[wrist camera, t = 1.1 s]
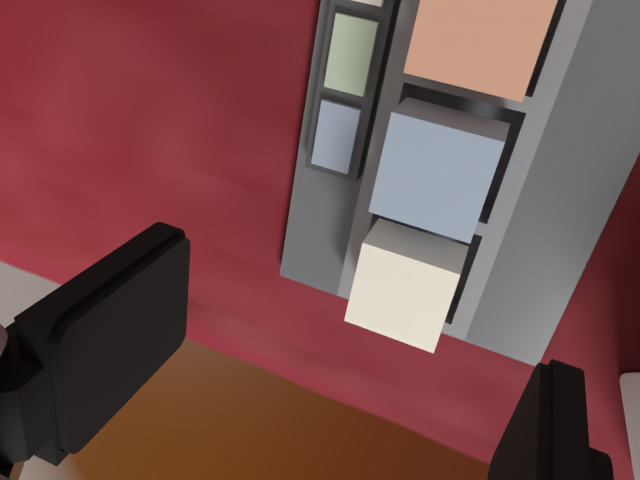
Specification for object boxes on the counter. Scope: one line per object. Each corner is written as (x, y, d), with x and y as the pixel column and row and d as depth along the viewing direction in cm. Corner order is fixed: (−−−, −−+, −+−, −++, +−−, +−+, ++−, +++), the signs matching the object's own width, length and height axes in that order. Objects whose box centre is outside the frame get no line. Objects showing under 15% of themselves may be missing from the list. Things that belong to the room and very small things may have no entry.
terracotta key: (567, -35, 18) (569, -34, 16) (525, 87, 20) (522, 102, 18) (447, -58, 19) (434, -60, 17) (418, 60, 21) (403, 72, 19)
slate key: (510, 123, 21) (505, 142, 19) (477, 217, 23) (470, 243, 21) (406, 97, 22) (391, 111, 20) (384, 189, 24) (368, 211, 22)
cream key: (469, 246, 24) (460, 274, 21) (443, 320, 26) (433, 353, 23) (378, 218, 24) (362, 242, 22) (361, 291, 26) (344, 320, 24)
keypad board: (854, -310, 16) (901, -351, 13) (537, 359, 28) (536, 392, 26) (378, -344, 19) (356, -381, 17) (284, 270, 31) (264, 292, 29)
